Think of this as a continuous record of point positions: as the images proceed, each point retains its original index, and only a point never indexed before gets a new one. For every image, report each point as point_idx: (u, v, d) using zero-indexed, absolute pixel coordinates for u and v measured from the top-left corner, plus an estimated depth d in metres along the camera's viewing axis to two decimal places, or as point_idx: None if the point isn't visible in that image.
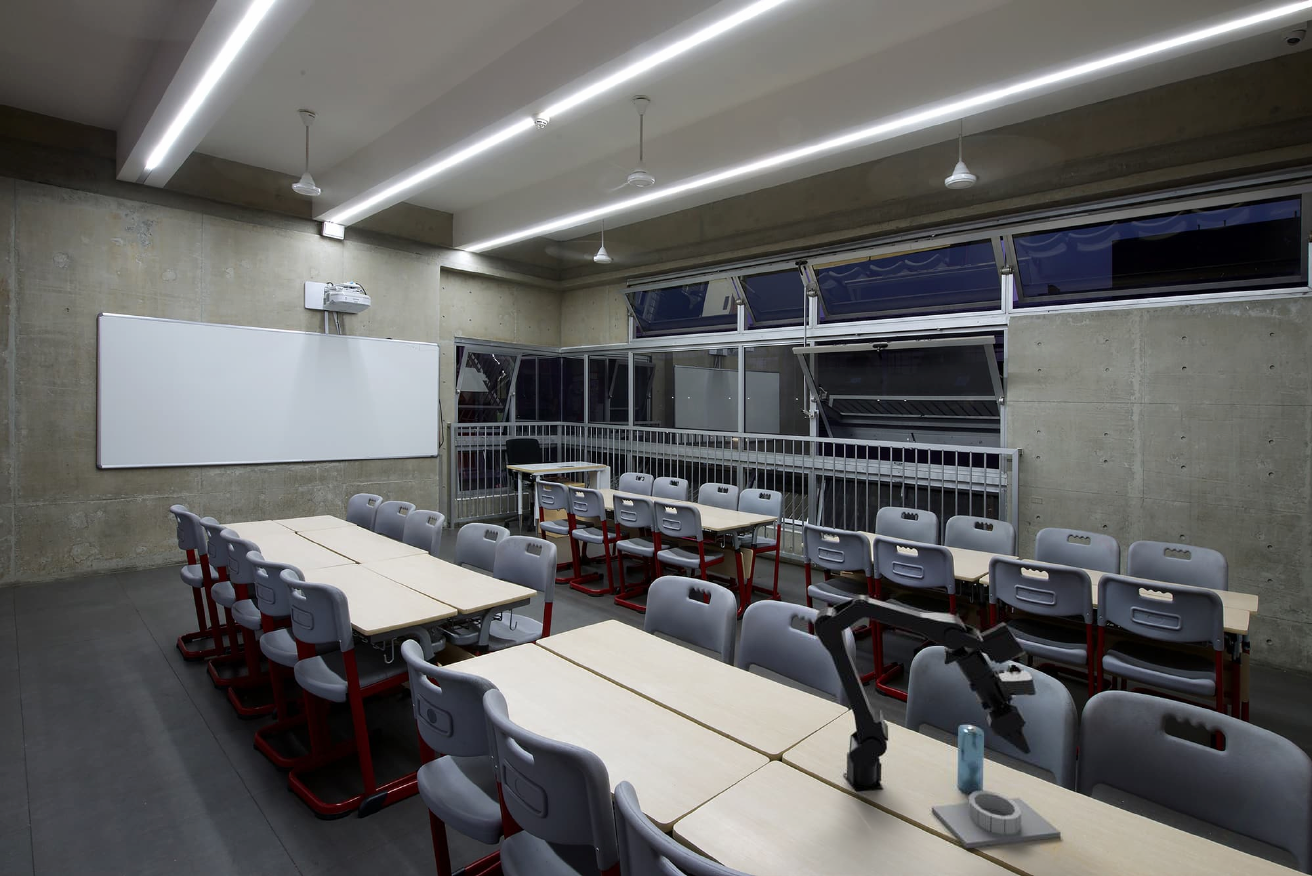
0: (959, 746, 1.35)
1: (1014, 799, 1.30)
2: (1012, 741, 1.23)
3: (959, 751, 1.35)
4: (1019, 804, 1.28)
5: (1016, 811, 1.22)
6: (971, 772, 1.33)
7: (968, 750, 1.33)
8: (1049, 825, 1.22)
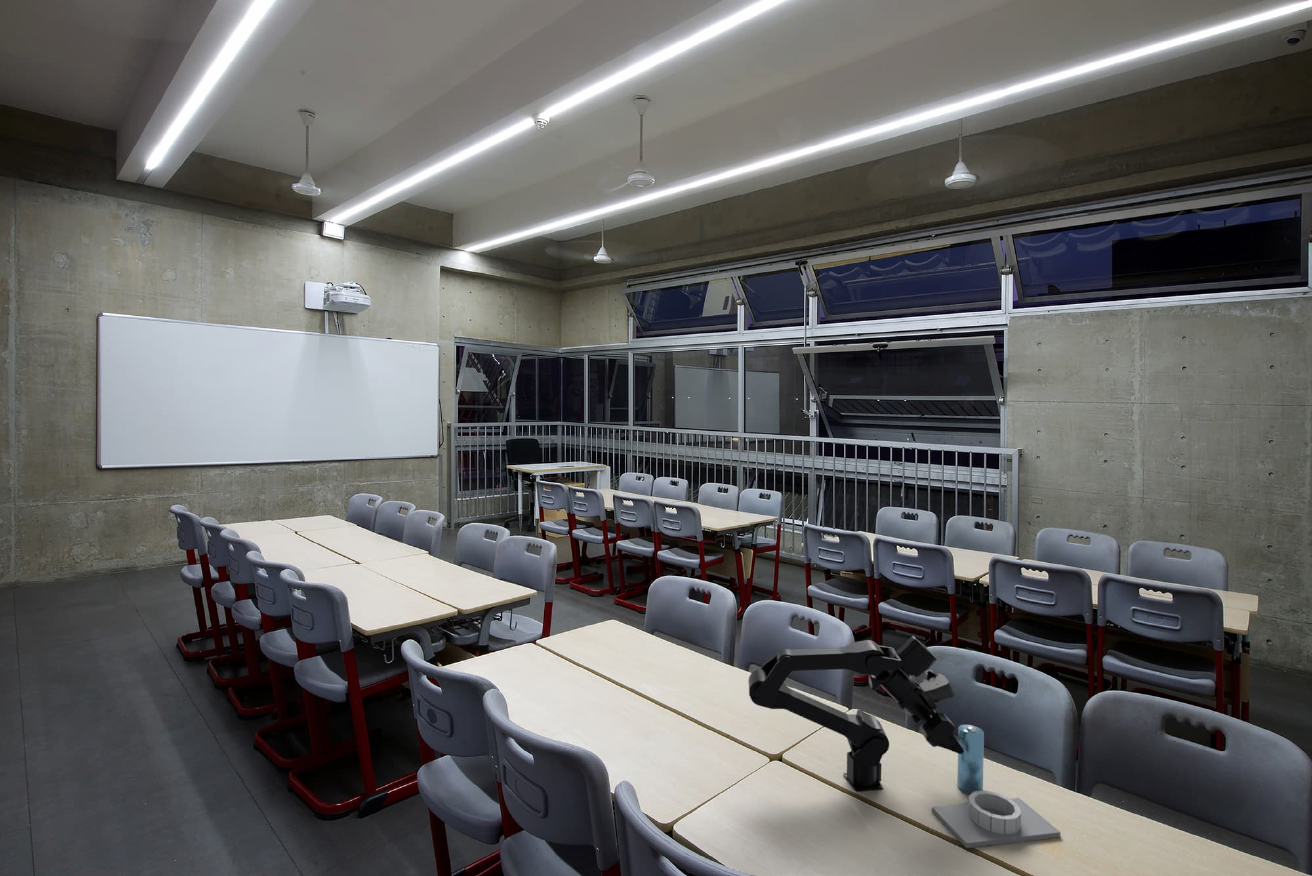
0: None
1: (1014, 799, 1.30)
2: (947, 746, 1.30)
3: None
4: (1019, 804, 1.28)
5: (1016, 811, 1.22)
6: (971, 772, 1.33)
7: (968, 750, 1.33)
8: (1049, 825, 1.22)
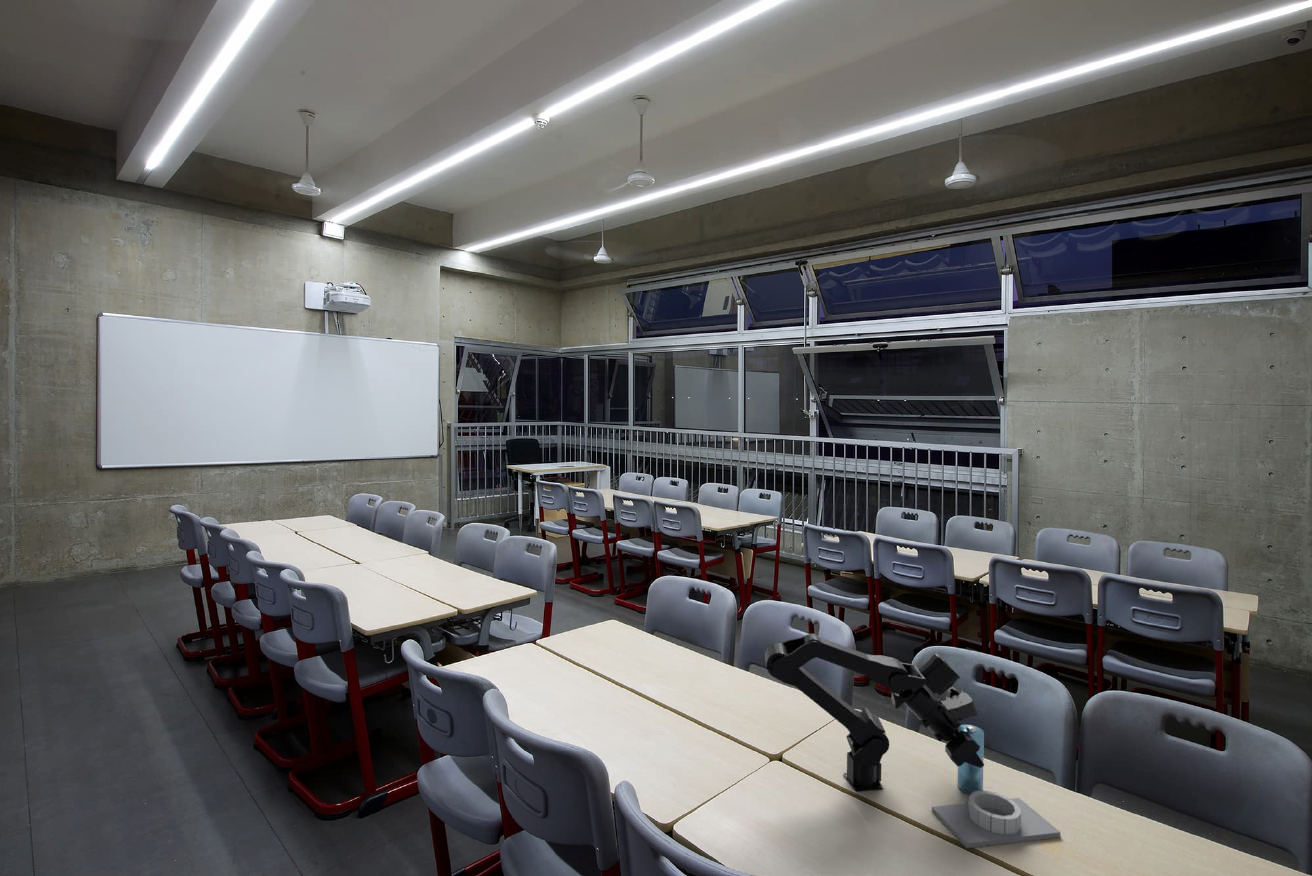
0: None
1: (1014, 799, 1.30)
2: (968, 760, 1.32)
3: None
4: (1019, 804, 1.28)
5: (1016, 811, 1.22)
6: (971, 772, 1.33)
7: None
8: (1049, 825, 1.22)
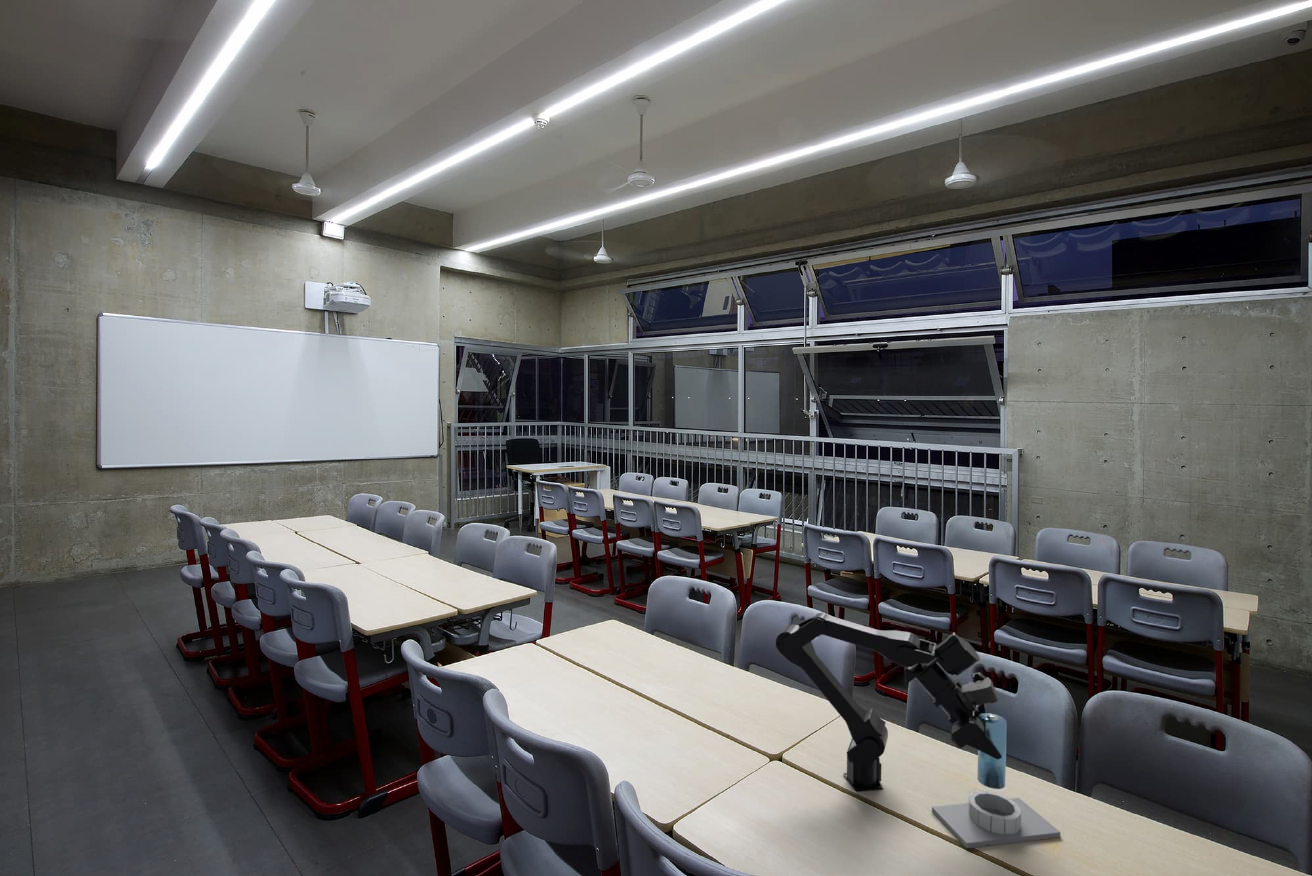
0: None
1: (1014, 799, 1.30)
2: (980, 748, 1.24)
3: None
4: (1019, 804, 1.28)
5: (1016, 811, 1.22)
6: (988, 762, 1.25)
7: None
8: (1049, 825, 1.22)
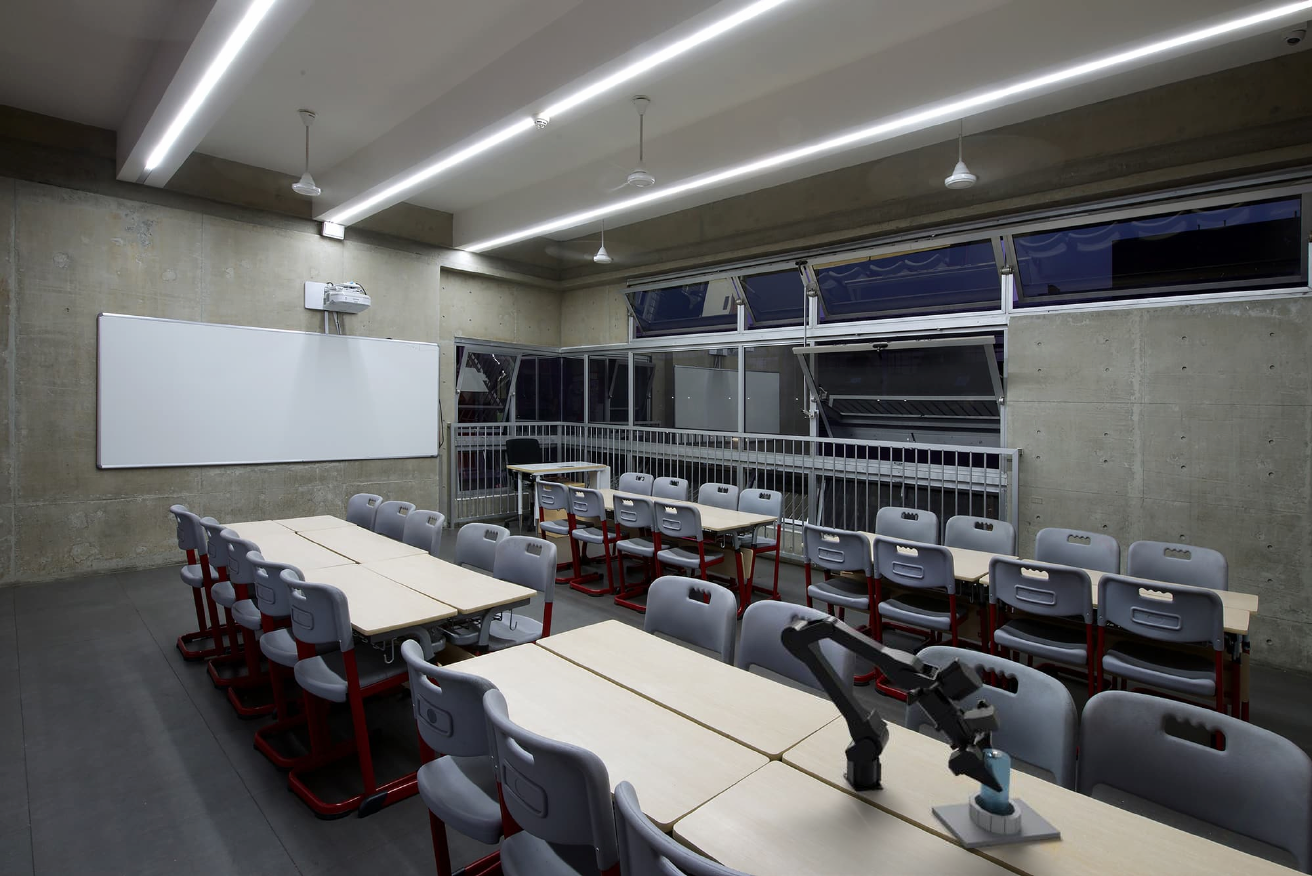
0: None
1: (1014, 799, 1.30)
2: (980, 779, 1.21)
3: None
4: (1019, 804, 1.28)
5: (1016, 811, 1.22)
6: (989, 799, 1.22)
7: None
8: (1049, 825, 1.22)
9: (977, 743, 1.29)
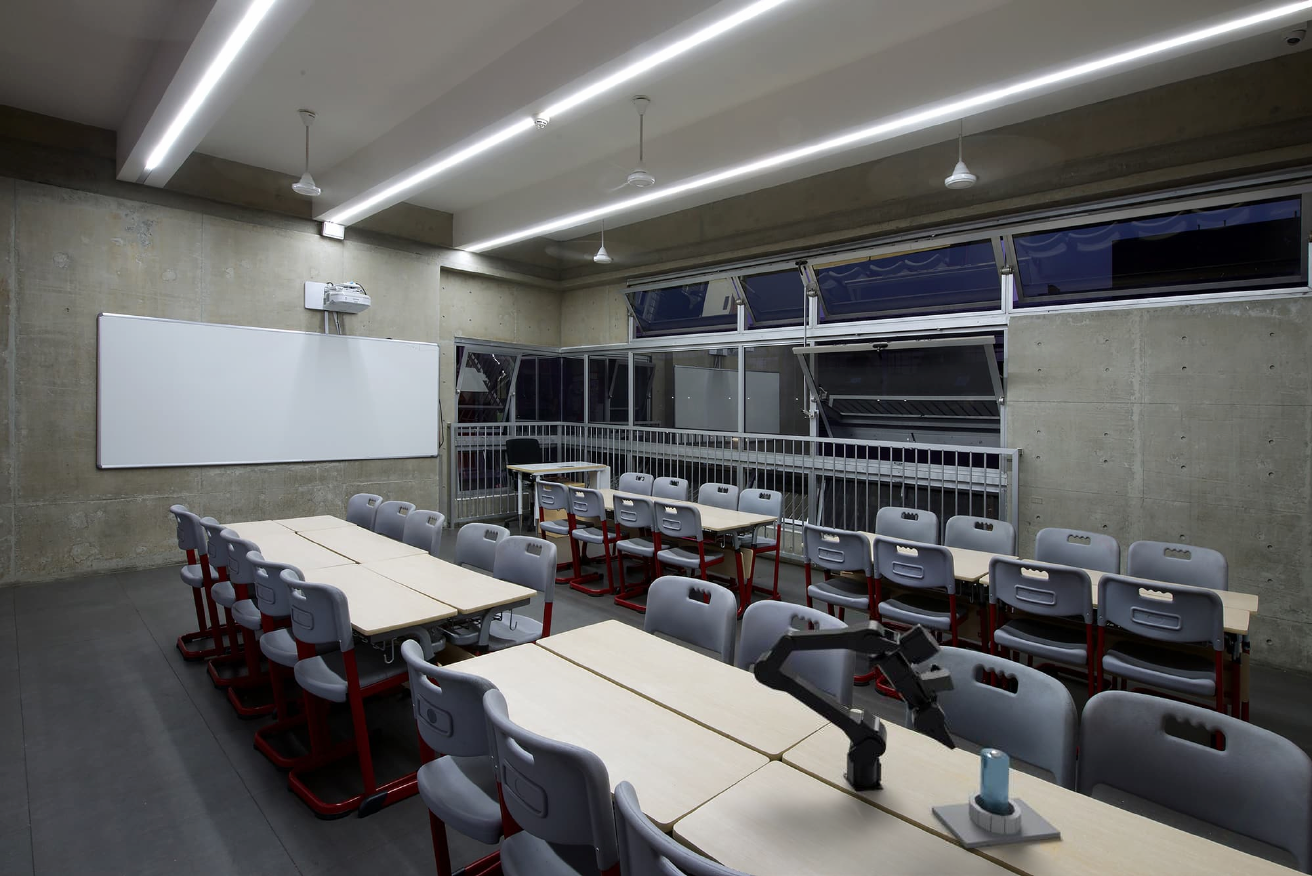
0: None
1: (1014, 799, 1.30)
2: (937, 738, 1.26)
3: (980, 774, 1.25)
4: (1019, 804, 1.28)
5: (1016, 811, 1.22)
6: (988, 799, 1.22)
7: (986, 774, 1.22)
8: (1049, 825, 1.22)
9: None
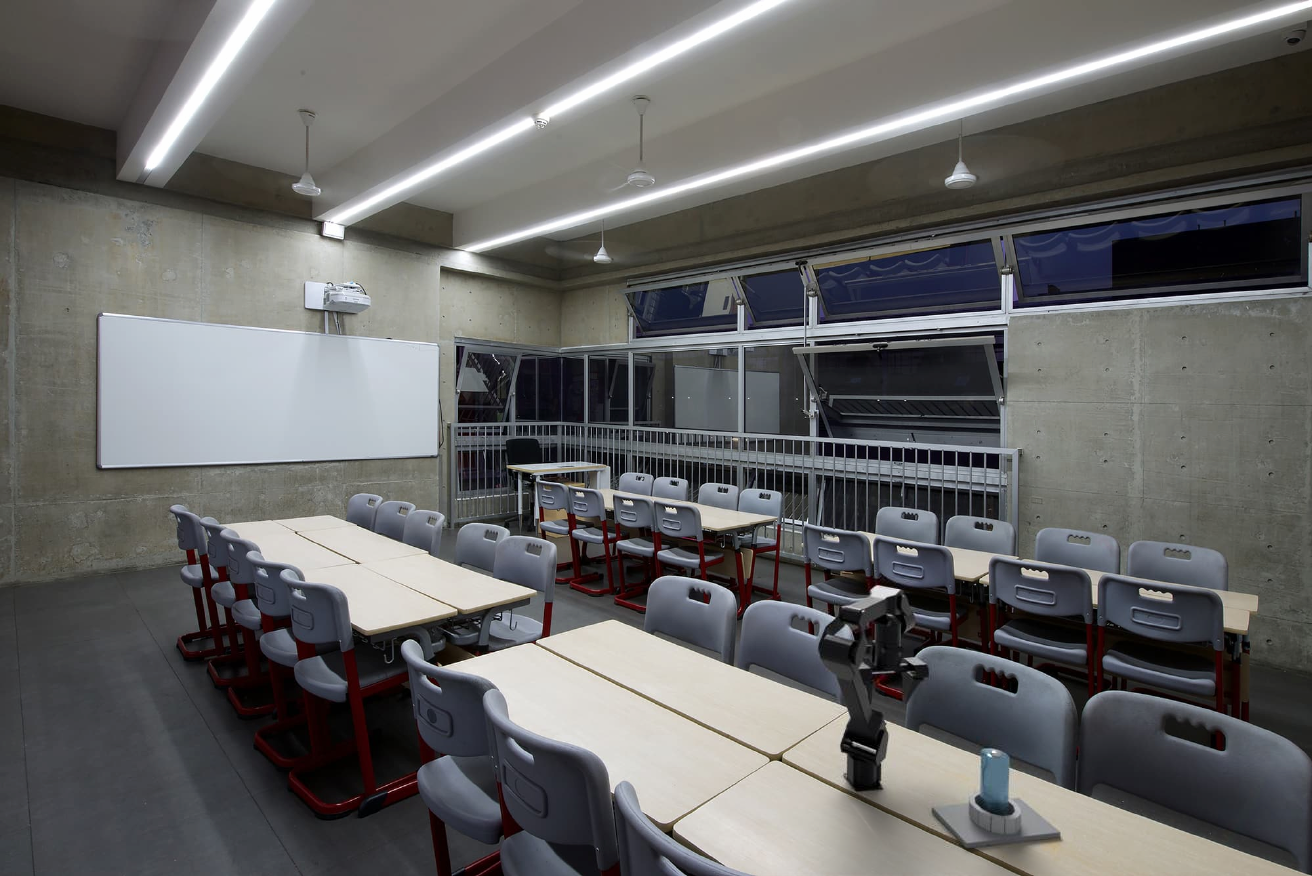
0: None
1: (1014, 799, 1.30)
2: None
3: (980, 774, 1.25)
4: (1019, 804, 1.28)
5: (1016, 811, 1.22)
6: (988, 799, 1.22)
7: (986, 774, 1.22)
8: (1049, 825, 1.22)
9: None
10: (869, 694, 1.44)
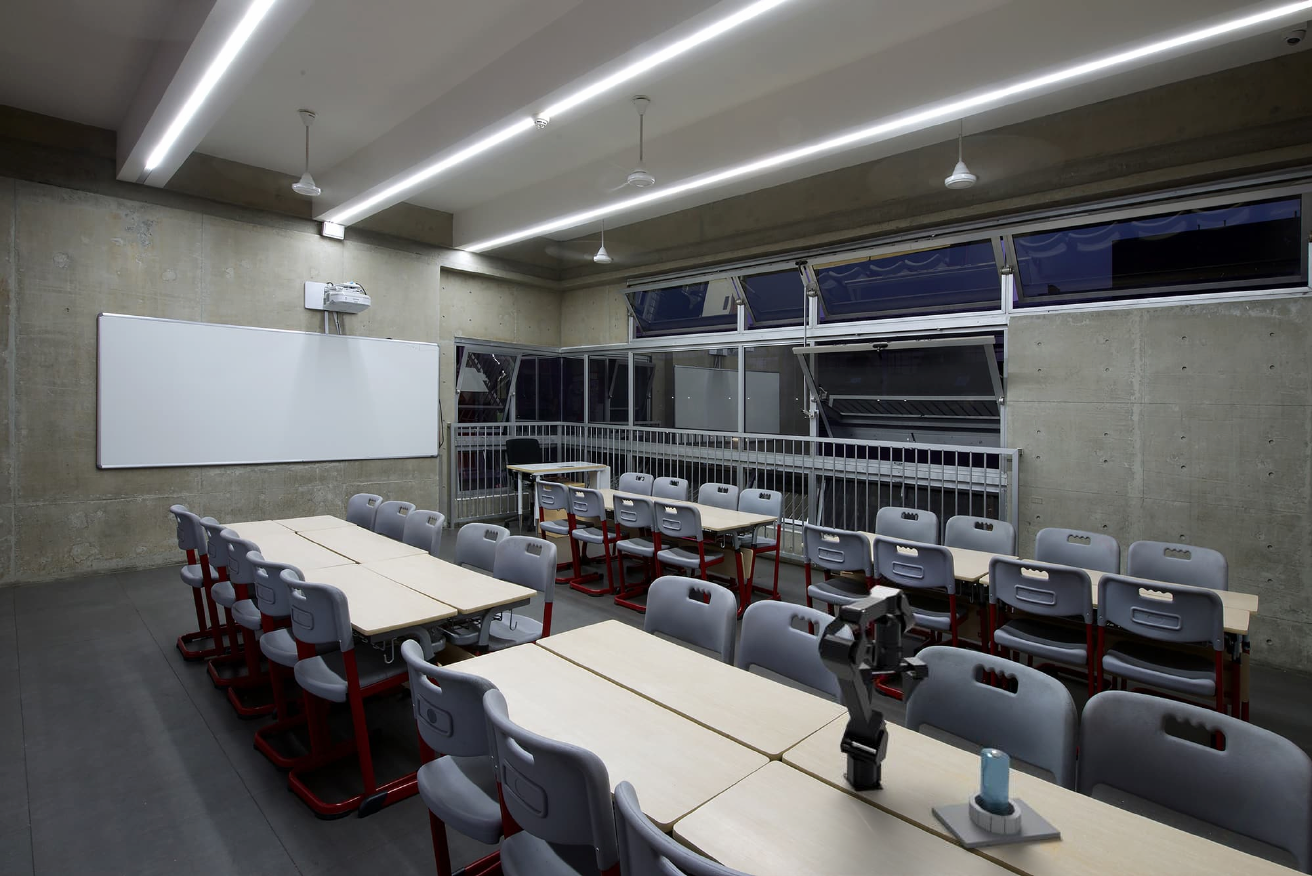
0: None
1: (1014, 799, 1.30)
2: None
3: (981, 774, 1.25)
4: (1019, 804, 1.28)
5: (1016, 811, 1.22)
6: (989, 799, 1.22)
7: (986, 774, 1.22)
8: (1049, 825, 1.22)
9: None
10: (869, 694, 1.44)
